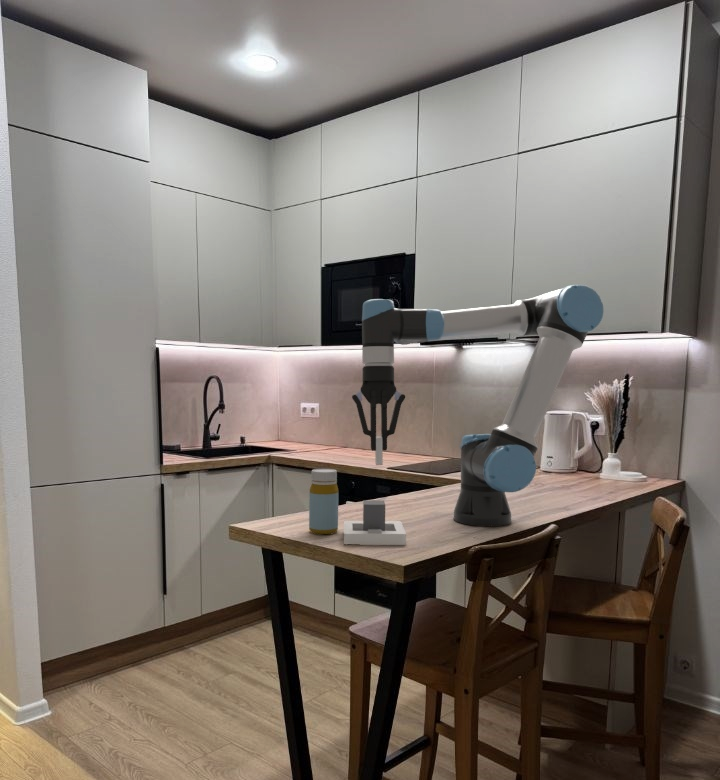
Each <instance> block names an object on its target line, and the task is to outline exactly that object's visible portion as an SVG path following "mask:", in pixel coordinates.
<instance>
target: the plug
mask: <svg viewBox="0 0 720 780" xmlns="http://www.w3.org/2000/svg"><path fill="white" fill-rule="evenodd" d="M362 503H363V504H362V521H363V531H368V529H381V530H382V531H385V521H386V502H385V500H371V499H370V500H362Z"/></svg>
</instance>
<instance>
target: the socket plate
mask: <svg viewBox="0 0 720 780" xmlns="http://www.w3.org/2000/svg"><path fill="white" fill-rule="evenodd" d="M344 544H360V545H359V546H367V545H368V546H407V545H406V544H407V533H406V530H405V528H404V525H403V523H402V521H400V520H385V531H382V530H381V529H368V531H363V520H344V521H343V545H344Z"/></svg>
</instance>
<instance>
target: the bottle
mask: <svg viewBox="0 0 720 780" xmlns="http://www.w3.org/2000/svg"><path fill="white" fill-rule="evenodd" d="M337 478H338V471H337V470H336V469H334V468H314V469H312V470H311V485H310V488H309V500H308V501H309V505H308V508H309V511H308V512H309V513H308V515H309V516H308V518H309V519H308V523H309V524H308V527H309V528H308V529H309V531H310V533H312V534H314V533H315V535H319V534H328V535H332V534H331V533H333V534H336V533H337V531H338V529H339V488H338V487H339V486H338V484H337V483H338V479H337Z"/></svg>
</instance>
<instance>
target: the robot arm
mask: <svg viewBox="0 0 720 780" xmlns="http://www.w3.org/2000/svg"><path fill="white" fill-rule="evenodd" d="M361 314H362V315H361V322H362V323H361V337H362V338H361V339H362V341H361V342H362V348H361V349H362V353H361V354H362V361H361V362H362V364H363V365H364V366H362V385H361V387H360V390H359V391H358V392H357V393H355V394H352V395H351V398H352V400H353V402H354V403H355V405H356V409H357V413H358V416H359V421H360V425H361V429H362V433H363V434H364V435H366V436H369V437H370V449H371V451H372V452H373V451H374V452H375V465H376V466H383V465H384V464H383V463H384V462H383V451H387V450H388V437H389V436H391V435H394V434H395V432H396V427H397V424H398V420H399V415H400V411H401V406H402V404H403V402H404V401H405V399H406V394H403V393H402V392H400V391H398V390H397V387H396V385H395V367H394V366H393V364H394V363H395V343H396V344H399V345H403V346H404V345H411V344H417V343H418V344H419V343H425V342H436V341H445V340H446V341H447V340H455V339H464V338H476V337H485V336H486V337H487V336H494V335H495V336H497V335H506V334H516V335H518V336H519V337H524V336H525V337H526V336H538V337H539V339H538V341H537V342H536V345H535V348H534V350H533V352H532V354H531V356H530V359H529V361H528V364H527V366H526V368H525V371H524V373H523V376H522V378H521V380H520V382H519V384H518V386H517V389H516V391H515V394H514V396H513V398H512V401H511V403H510V405H509V407H508V410H507V411H506V414H505V416H504V419H503V421H502V424H500V425H498V426H496V427H493V428H492V430H491V433H483V434H482V433H480V434H479V433H478V434H466V435H463V436H462V438H461V445H460V447H459V448H460V492H459V495H458V498H457V501H456V504H455V507H454V509H453V520H454V521H455V522H457V523H460V524H464V525H469V526H475V527H501V526H506V525H509V524H511V523H512V512H511V508H510V505H509V502H508V498H507V495H506V493H517V492H519V491H522V490H524V489H525V488H527V487H528V486H529V485H530V484H531V482H532V481H533V479H534V477H535V475H536V471H537V462H536V459H535V456H536V453H537V451H538V448H539V445H538V444H537V442H536V436H537V435H538V432H539V430H540V427H541V424H542V422H543V420H544V418H545V417H546V413H547V411H548V409H549V407H550V405H551V403H552V400H553V397H554V395H555V393H556V391H557V388H558V386H559V384H560V381H561V379H562V376H563V374H564V372H565V370H566V367H567V366H568V362H569V360H570V358H571V356H572V353H573V352H574V351H575V350H577V349H580V348H582V347H583V344H584V343H585V340H586V337H587V335H588V333H589V332H591V331H593V330H594V329H596V328H597V327H598V326H599V325H600V324H601V322H602V319H603V317H604V304H603V302H602V299H601V296H600V295H599V294H598V293H597V291H596V290H595V289H594V288H592V287H590V286H588V285H585V284H570V285H567V286H564V287H563V288H560V289H556V290H553V291H549V292H545V293H543V294H540V295H538V296H535V297H531V298H528V299H527V298H526V299H519V300H515V302H514V303H513V304H507V305H496V306H495V305H494V306H485V307H473V308H466V309H465V308H463V309H454V310H453V309H452V310H445V311H444V310H443V311H442V310H440V309H431V308H396V307H395V305H394V301H393V300H391V299H383V298H373V299H368V300H366V301H364V302H363V304H362V313H361ZM363 397H364V399H365V400H366V401H367V403H369V404H370V405H369V407H370V409H369V411H370V413H369V415H370V421H369V422H370V427H369V428H370V429H369V428H368V423H367V420H366V415H365V413H364V409H363V408H364V407H363V404H362V400H363ZM393 397H394V400H395V403H394V407H393V411H392V415H391V420H390V424H389V428H388V403H390V401H391V400H392V398H393ZM378 404H379V405H380V422H381V423H380V426H381V427H380V430H381V431H380V432H381V433H380V436H377V405H378Z"/></svg>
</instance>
